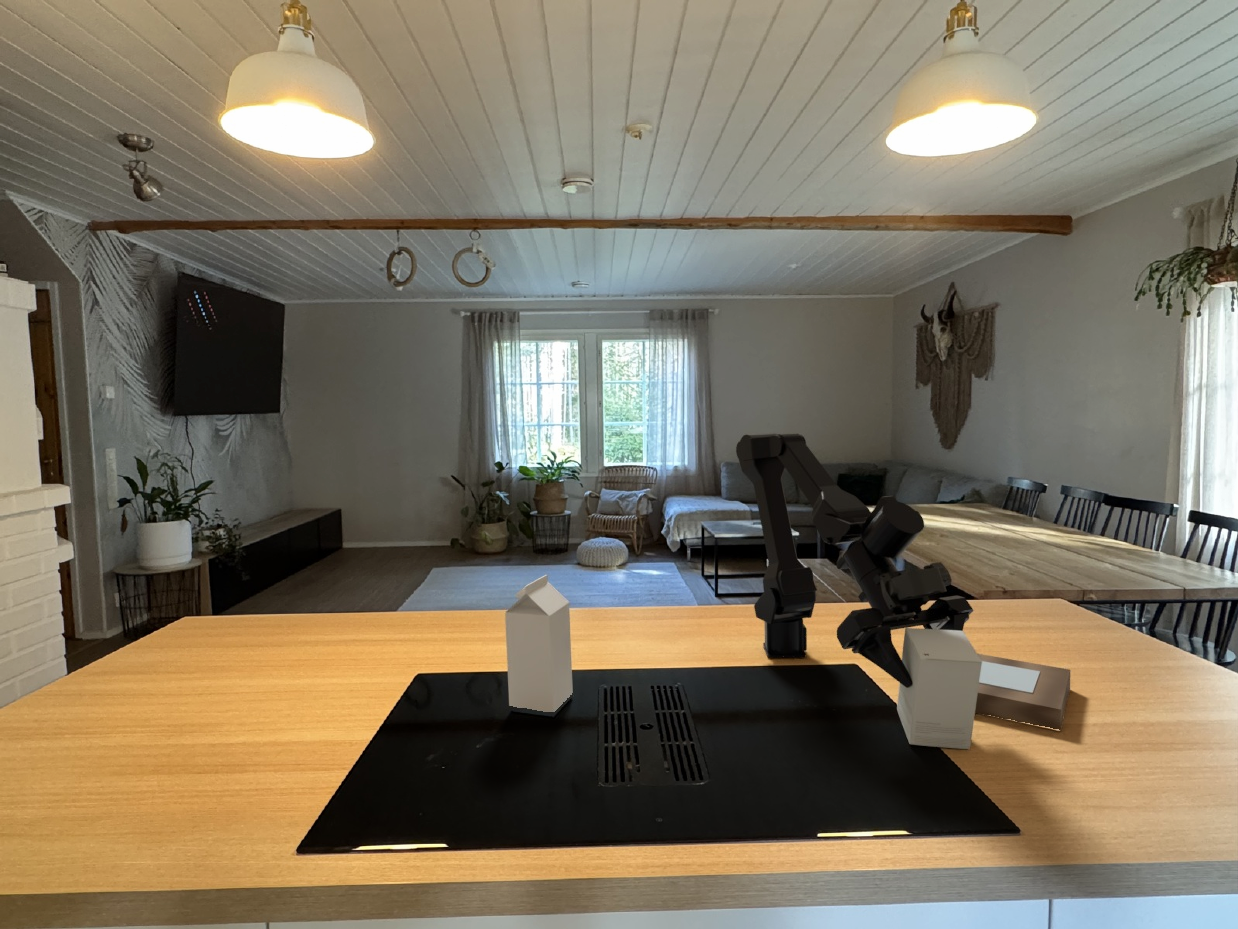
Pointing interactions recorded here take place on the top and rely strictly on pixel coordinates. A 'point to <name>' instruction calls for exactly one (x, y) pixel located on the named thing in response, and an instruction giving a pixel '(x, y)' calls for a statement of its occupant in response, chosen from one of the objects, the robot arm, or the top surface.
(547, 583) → the milk carton
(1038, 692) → the plinth
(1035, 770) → the top surface
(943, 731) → the supplement box
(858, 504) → the robot arm
